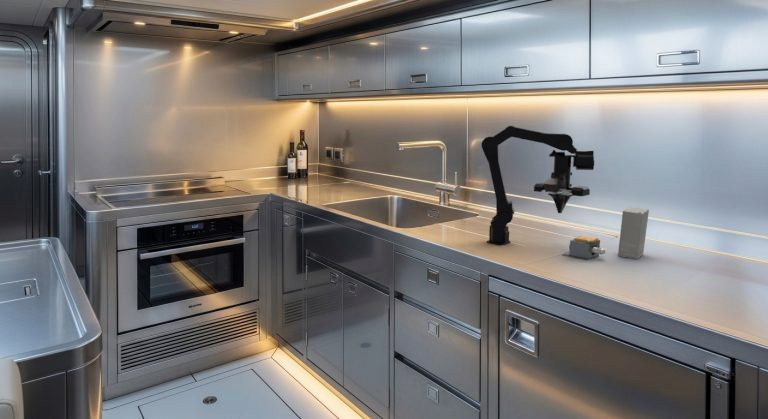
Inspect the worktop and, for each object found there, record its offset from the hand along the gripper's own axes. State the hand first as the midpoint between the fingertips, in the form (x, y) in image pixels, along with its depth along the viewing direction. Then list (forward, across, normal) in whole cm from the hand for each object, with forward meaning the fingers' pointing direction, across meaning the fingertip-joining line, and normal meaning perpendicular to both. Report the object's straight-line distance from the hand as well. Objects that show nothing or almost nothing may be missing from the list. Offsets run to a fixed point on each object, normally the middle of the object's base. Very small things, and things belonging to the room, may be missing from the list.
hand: (559, 213), depth 191 cm
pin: (+11, +14, -7) cm, 20 cm away
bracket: (+12, +12, -7) cm, 18 cm away
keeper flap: (+6, +14, -7) cm, 17 cm away
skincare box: (+12, +24, +5) cm, 27 cm away
